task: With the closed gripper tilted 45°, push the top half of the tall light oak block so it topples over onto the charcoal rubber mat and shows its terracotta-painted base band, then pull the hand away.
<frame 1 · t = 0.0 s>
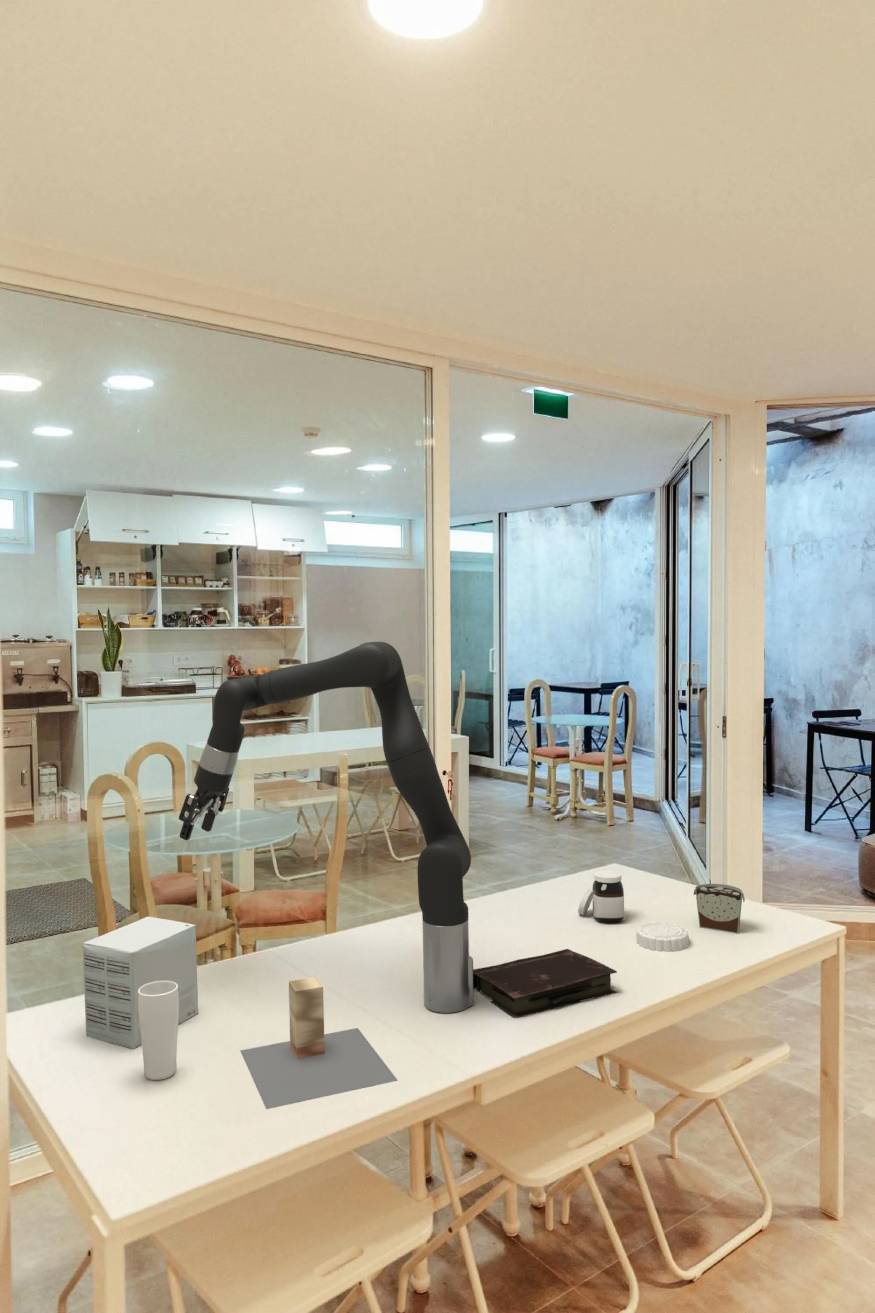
hand: (195, 834, 202), 31 cm above the table, tool tilted 20°, fingers open, 8 cm apart
mooncake: (662, 944, 219), on the table
supplement box: (143, 1026, 179), on the table
rubber mat: (316, 1067, 160), on the table
drinking glass: (160, 1075, 159), on the table
diary: (543, 994, 192), on the table
oak block: (307, 1050, 166), resting on rubber mat
spread jar: (600, 919, 238), on the table
food container: (722, 928, 229), on the table
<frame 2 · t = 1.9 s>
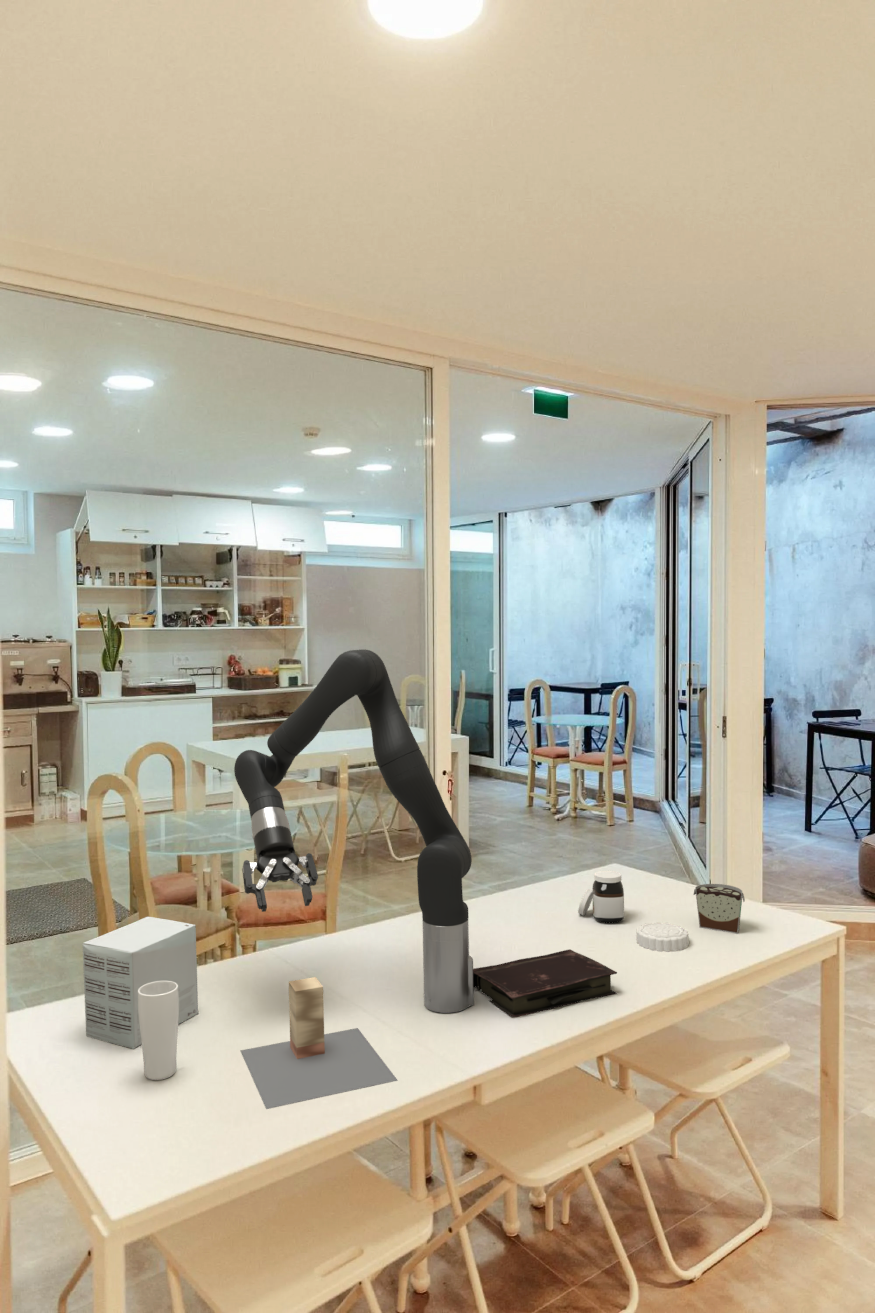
hand: (286, 906, 178), 23 cm above the table, tool tilted 45°, fingers open, 8 cm apart
nothing on the table moved.
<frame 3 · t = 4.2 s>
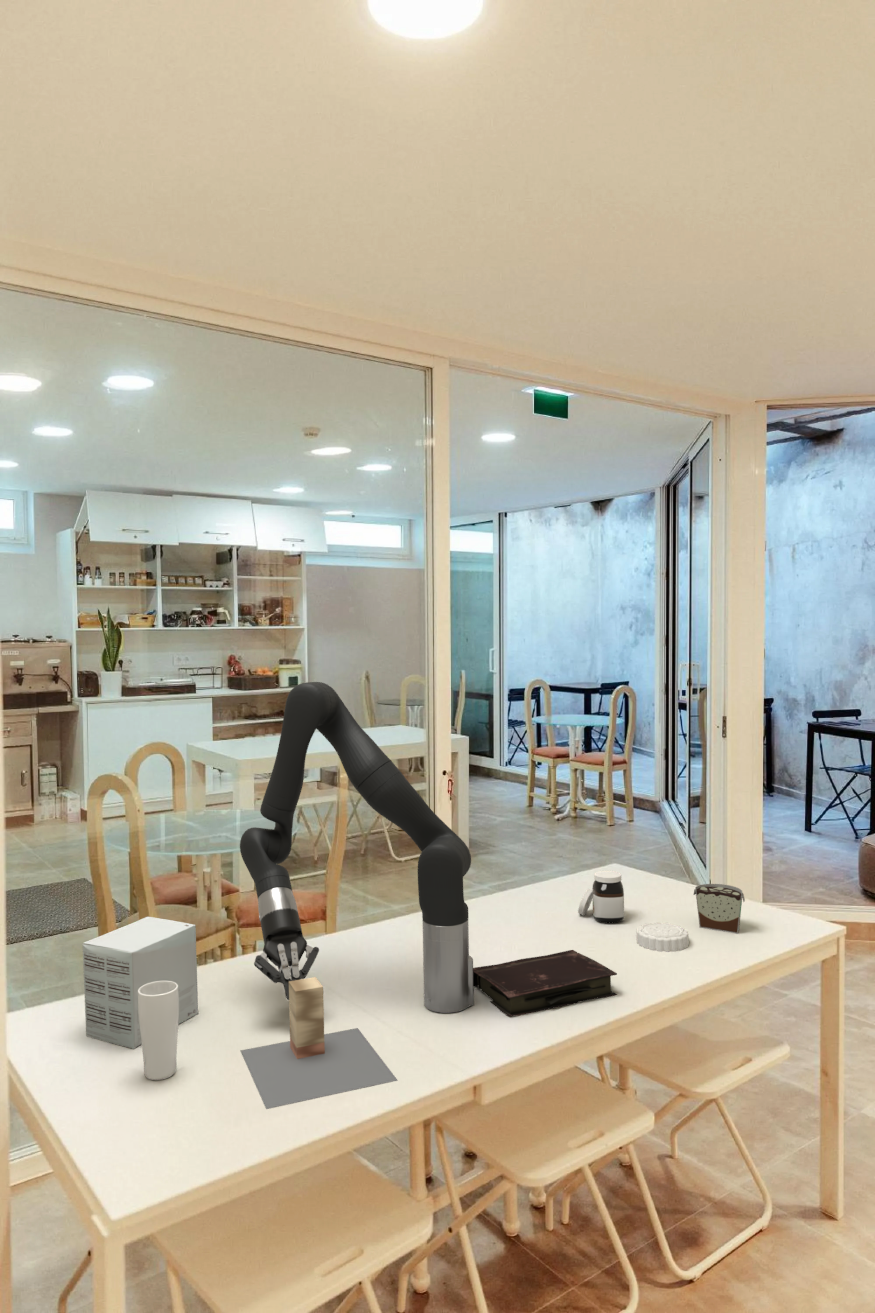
hand: (295, 1000, 173), 7 cm above the table, tool tilted 45°, fingers closed
nothing on the table moved.
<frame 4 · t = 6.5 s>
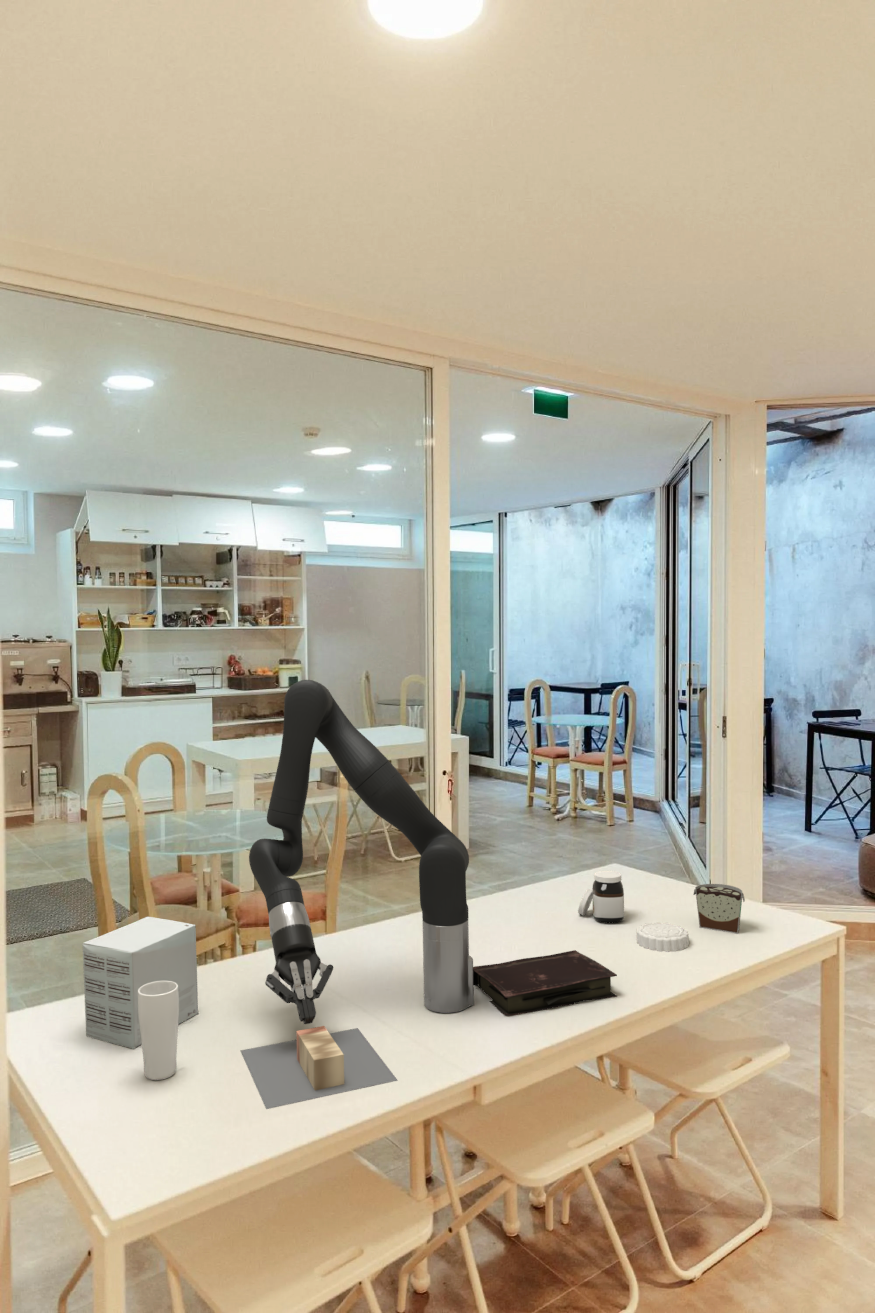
hand: (309, 1022, 164), 6 cm above the table, tool tilted 45°, fingers closed
oak block: (310, 1042, 163), point 3 cm above the table, tilted 90°, touching rubber mat
everything else where it was.
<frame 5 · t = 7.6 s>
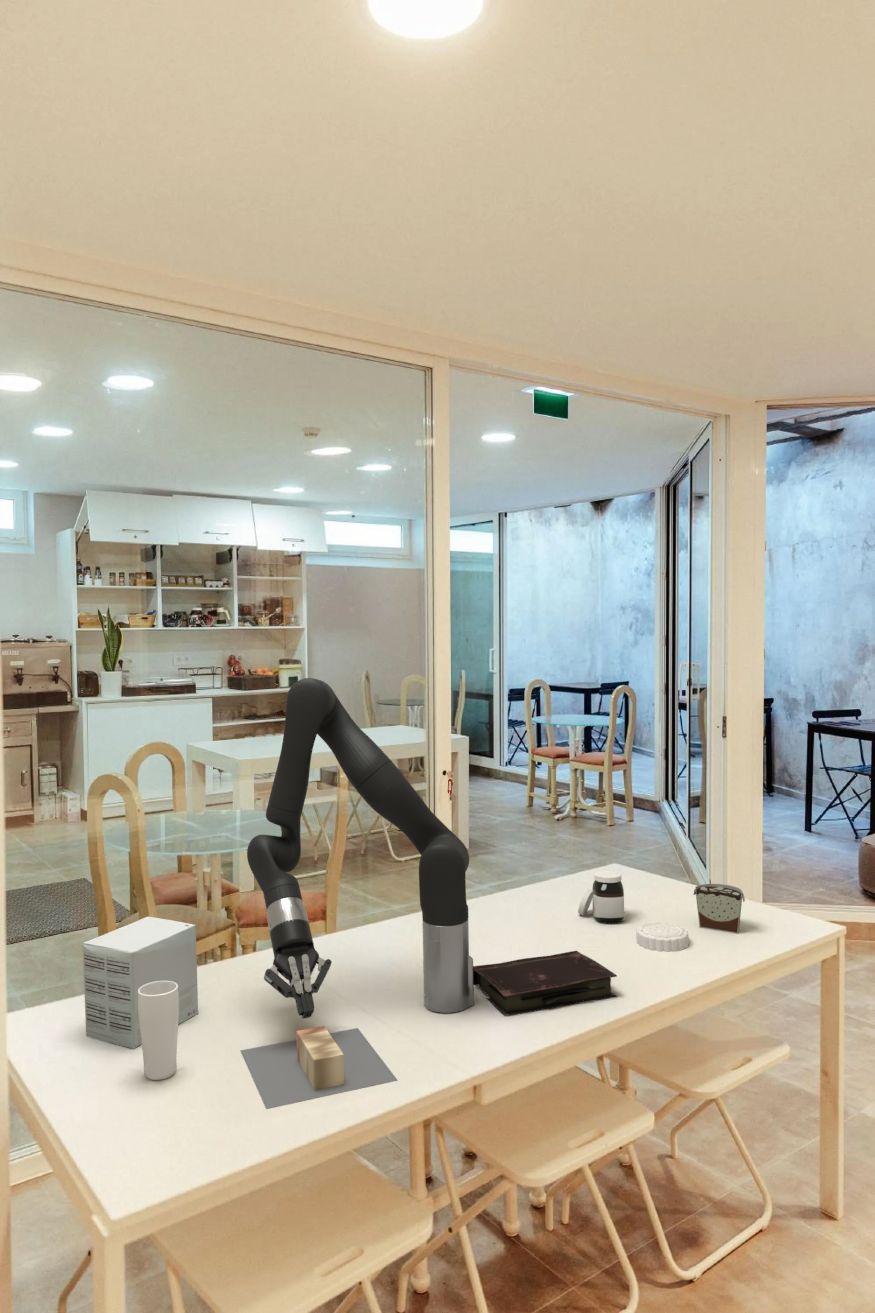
hand: (307, 1016, 165), 7 cm above the table, tool tilted 45°, fingers closed
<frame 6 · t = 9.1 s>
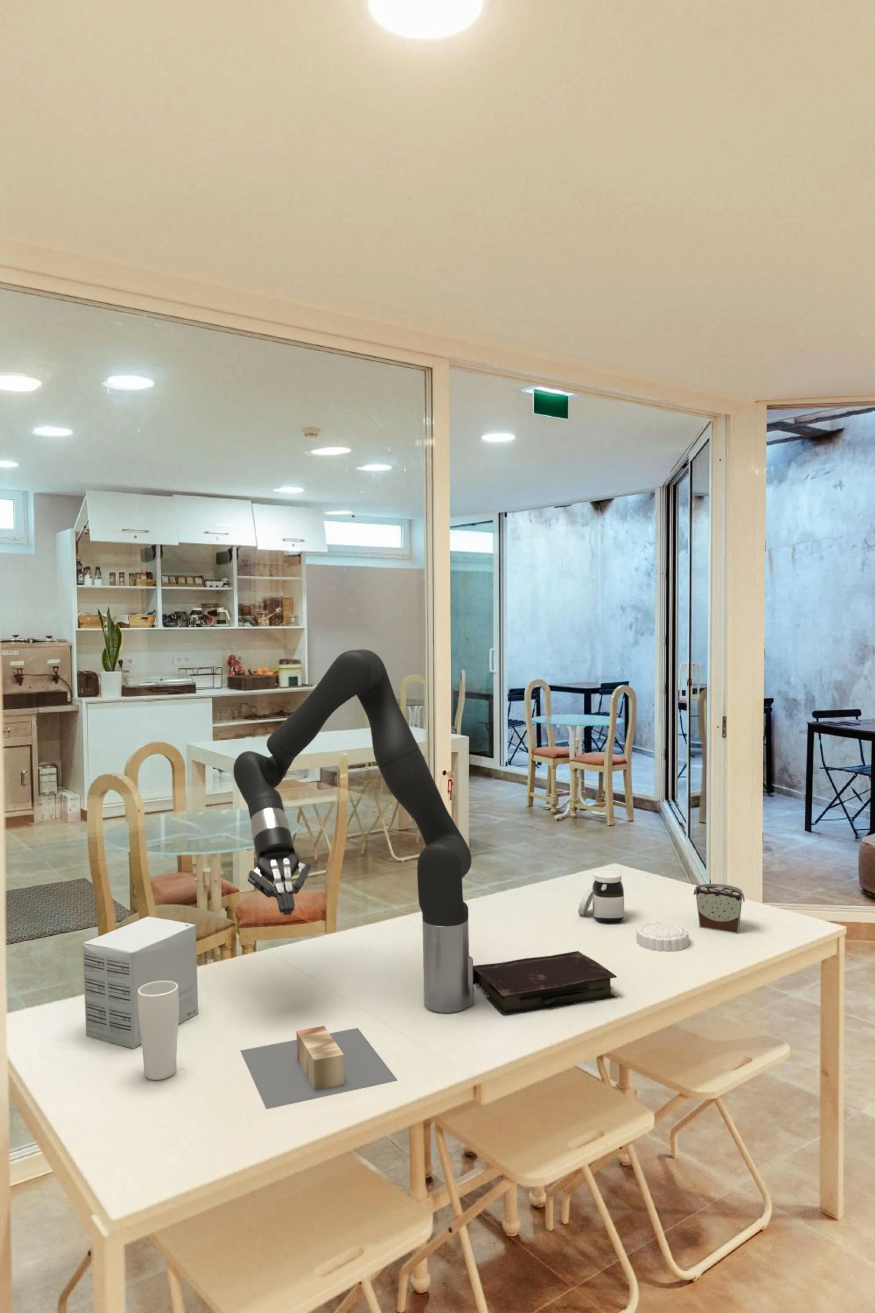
hand: (288, 912, 176), 22 cm above the table, tool tilted 45°, fingers closed
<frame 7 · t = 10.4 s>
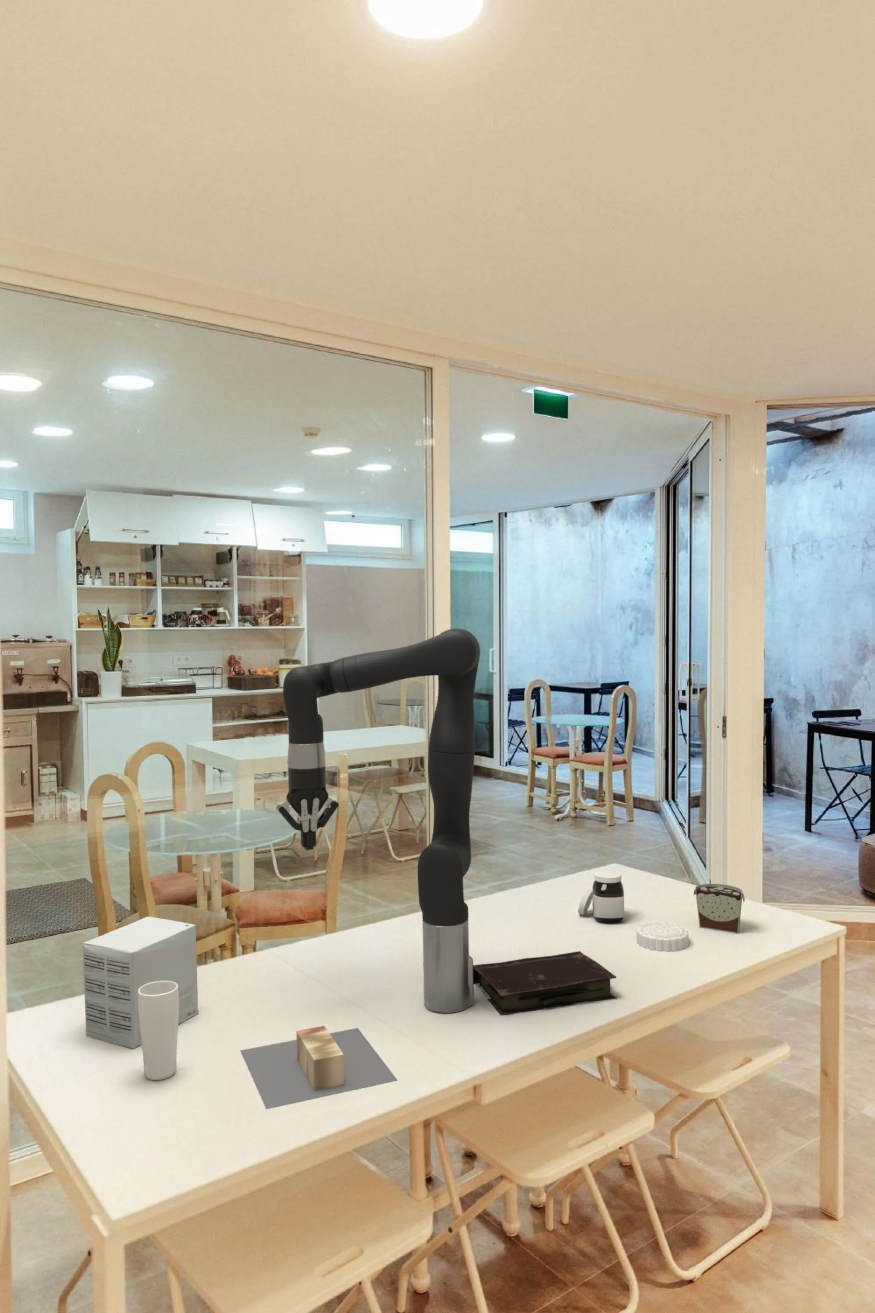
hand: (308, 849, 189), 31 cm above the table, tool pointing down, fingers closed
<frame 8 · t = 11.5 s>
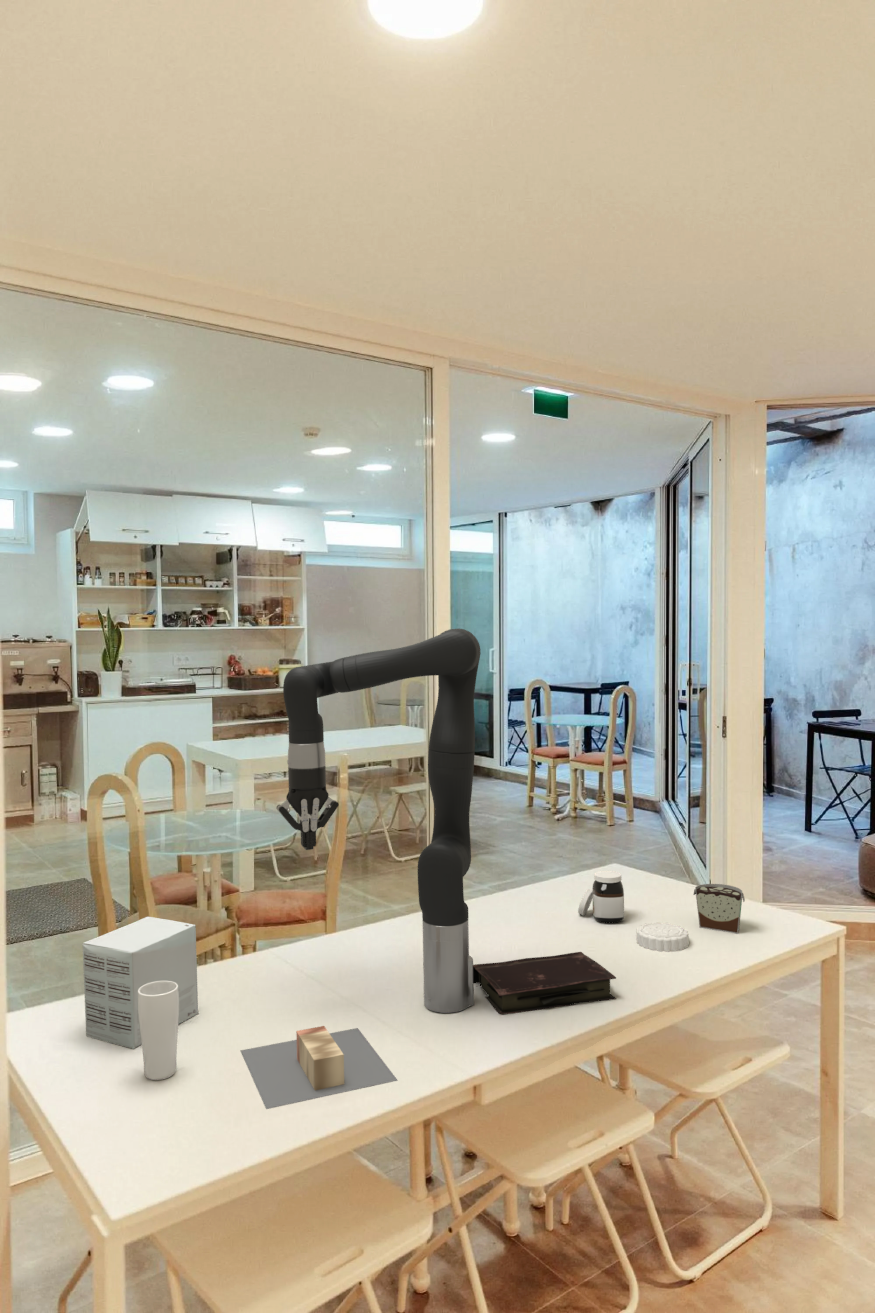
hand: (308, 849, 189), 31 cm above the table, tool pointing down, fingers closed
at the end: oak block tilted 90°; oak block inside the target area (2.5 cm from its centre), point 3.0 cm above the table; the gripper is holding nothing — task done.
